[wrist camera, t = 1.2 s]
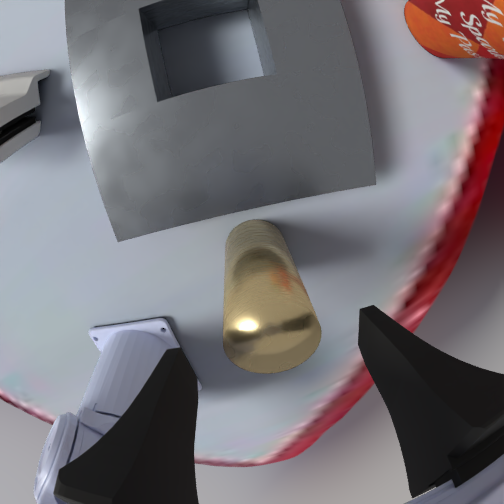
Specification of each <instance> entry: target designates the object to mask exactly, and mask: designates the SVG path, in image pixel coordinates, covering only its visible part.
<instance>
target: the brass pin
mask: <svg viewBox="0 0 504 504" xmlns="http://www.w3.org/2000/svg"><path fill="white" fill-rule="evenodd" d="M320 340H321V327H320V324H319V321H318V319H317V316H316V314H315V311H314V309H313V306H312V304H311V302H310V299H309V297H308V294H307V292H306V289H305V287H304V285H303V282H302V280H301V278H300V275H299V273H298V270H297V268H296V266H295V263H294V261H293V259H292V256H291V254H290V252H289V249H288V247H287V245H286V243H285V240H284V238H283V236H282V234H281V232H280V231H279V229H278V228H277V227H276V226H274V225H273V224H271V223H269V222H267V221H263V220H249V221H245V222H243V223H241V224H239V225H238V226H236V227H235V228H234V229H233V230H232V231H231V232H230V234H229V236H228V238H227V241H226V247H225V276H224V315H223V347H224V351H225V353H226V355H227V357H228V358H229V359H230V360H231V361H232V362H233V363H234V364H235V365H237V366H238V367H240V368H242V369H244V370H247V371H250V372H255V373H278V372H282V371H286V370H289V369H292V368H294V367H296V366H298V365H300V364H302V363H303V362H304V361H306V360H307V359H308V358H309V357H310V356H311V355H312V354H313V353H314V352H315V350H316V349H317V347H318V345H319V343H320Z"/></svg>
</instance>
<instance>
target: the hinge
mask: <svg viewBox="0 0 504 504" xmlns="http://www.w3.org/2000/svg"><path fill="white" fill-rule="evenodd" d="M49 73H50V70H40V71H31V72H23V73H16V74H10V75H4V76H0V163H1V162H3V161H4V160H5V159H7V158H8V157H9V156H11V155H12V154H13V153H15V152H16V151H18V150H19V149H20V148H22V147H23V146H25V145H26V144H28V143H29V142H31V141H32V140H34V139H35V138H37V137H38V136H39V132H40V127H41V121H36V117H26V116H28V115H30V114H31V113H33V112H35V107H36V106H38V105H40V98H39V91H38V82H37V81H39V80H41V79H44V78H46V77H48V76H49Z"/></svg>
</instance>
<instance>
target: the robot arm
mask: <svg viewBox="0 0 504 504" xmlns="http://www.w3.org/2000/svg"><path fill="white" fill-rule="evenodd" d="M162 328H165V329H162ZM88 333H89V335H90V337H91V338H92V340H93V341H94V343H95V344H96V346H97V347H98V349H99V350H100V352H101V355H100V357H99V359H98V362H97V364H96V366H95V369H94V371H93V374H92V376H91V379H90V381H89V384H88V386H87V389H86V391H85V394H84V397H83V399H82V402H81V405H80V408H79V410H78V413H77V415H76V416H75V415H74V414H72V413H70V412H68V413H66V414H62V415H59V416H58V417H57V419H56V420H55V422H54V424H53V426H52V428H51V430H50V432H49V434H48V437H47V439H46V442H45V445H44V448H43V450H42V454H41V457H40V461H39V465H38V470H37V474H36V478H35V483H34V496H35V498H36V503H37V504H199V503H198V496H197V489H196V478H195V465H194V441H195V430H196V419H197V408H198V391H200V390H201V389H202V385H201V384H200V382H199V380H198V378H197V377H196V375H195V373H194V371H193V370H192V368H191V366H190V364H189V362H188V360H187V359H186V357H185V355H184V353H183V351H182V349H181V347H180V345H179V344H178V342H177V340H176V338H175V336H174V334H173V332H172V330H171V328H170V326H169V324H168V322H167V320H165V319H163V318H157V319H150V320H144V321H138V322H131V323H124V324H117V325H110V326H103V327H96V328H90V330H89V332H88ZM96 337H97V338H96ZM358 346H359V348H360V351H361V354H362V357H363V359H364V362H365V365H366V367H367V369H368V371H369V372H370V374H371V376H372V378H373V380H374V382H375V384H376V386H377V388H378V390H379V392H380V394H381V395H382V398H383V400H384V402H385V404H386V406H387V408H388V410H389V413H390V415H391V418H392V421H393V424H394V427H395V430H396V433H397V437H398V440H399V443H400V447H401V451H402V455H403V458H404V463H405V467H406V472H407V478H408V482H409V490H410V493H411V496H412V498H414V497H416V496H418V495H421V494H423V493H425V492H426V491H429V490H431V489H432V488H434V487H436V488H435V489H433V490H431V491H429V492H427V493H426V494H424V495H422V496H420V497H418V498H415V499H413V500H411V501H409V502H407V503H405V504H504V374H500V373H496V372H492V371H489V370H485V369H482V368H479V367H476V366H473V365H471V364H468V363H466V362H463V361H461V360H458V359H456V358H454V357H452V356H450V355H448V354H446V353H444V352H442V351H440V350H438V349H437V348H435V347H433V346H431V345H430V344H428V343H426V342H425V341H423V340H422V339H420V338H419V337H417V336H415V335H414V334H413V333H411V332H410V331H408V330H407V329H405V328H404V327H403V326H401V325H400V324H398V323H397V322H396V321H394V320H393V319H392V318H390V317H389V316H388V315H386V314H385V313H384V312H382V311H381V310H380V309H378V308H377V307H375V306H374V305H372V306H368V307H365V308H362V309H360V313H359V336H358Z"/></svg>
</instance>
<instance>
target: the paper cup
mask: <svg viewBox="0 0 504 504" xmlns="http://www.w3.org/2000/svg"><path fill="white" fill-rule="evenodd" d="M404 15H405V20H406V23H407V25H408V28H409V30H410V32H411V33H412V35H413V36H414V38H415V39H416V40H417V42H418V43H419V44H420V45H421V46H422V47H423V48H424V49H425V50H427V51H428V52H429V53H431V54H433V55H435V56H437V57H441V58H498V59H504V0H409V1H408V2H407V3H406V5H405V8H404Z"/></svg>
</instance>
